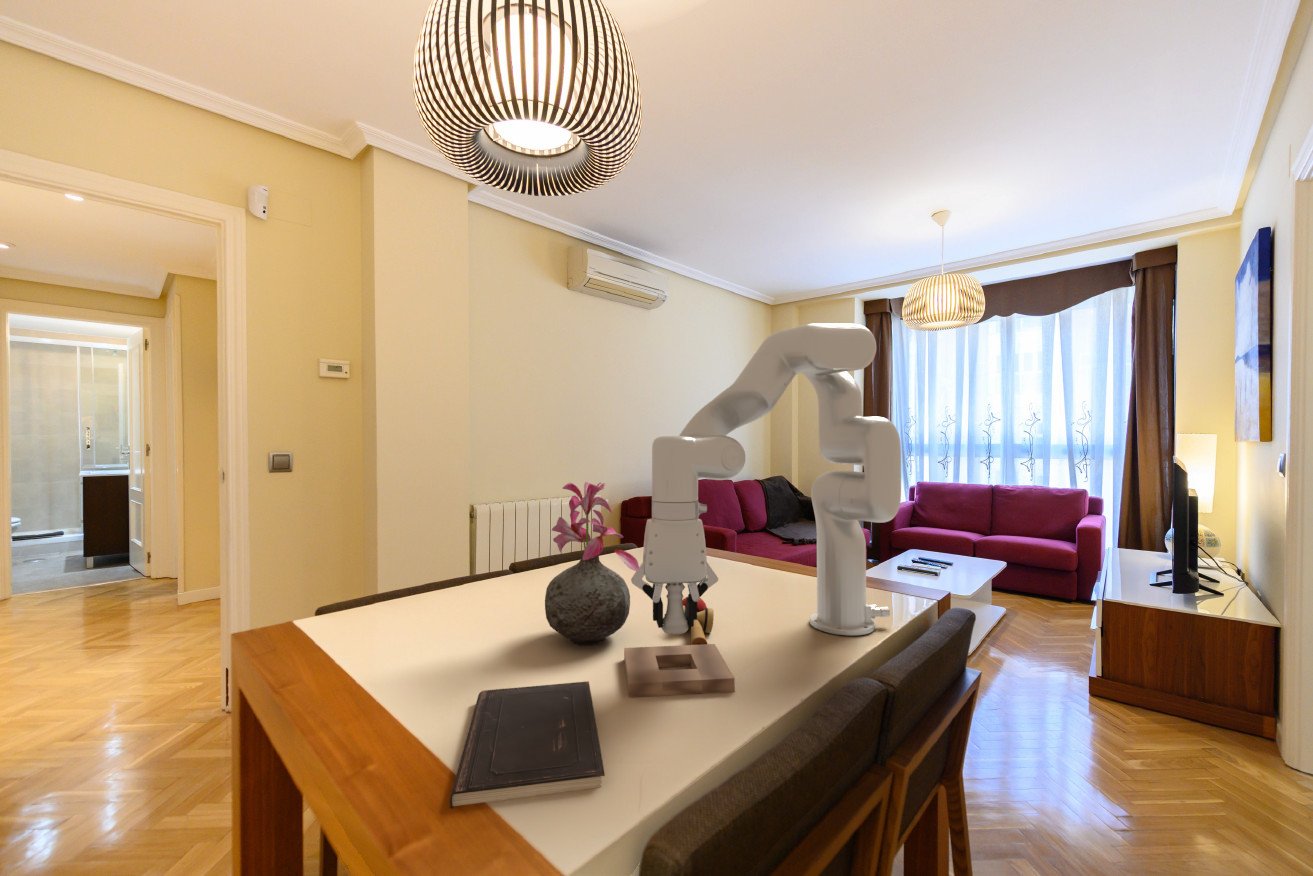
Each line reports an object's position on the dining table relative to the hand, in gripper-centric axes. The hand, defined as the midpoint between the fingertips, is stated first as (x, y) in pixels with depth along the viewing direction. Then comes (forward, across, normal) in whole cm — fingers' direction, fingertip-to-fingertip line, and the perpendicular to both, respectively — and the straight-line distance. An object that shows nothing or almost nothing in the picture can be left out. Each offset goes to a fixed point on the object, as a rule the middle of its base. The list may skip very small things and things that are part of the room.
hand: (674, 623), depth 88 cm
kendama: (+9, -7, -18) cm, 21 cm away
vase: (+9, +14, -18) cm, 24 cm away
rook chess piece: (+1, 0, 0) cm, 1 cm away
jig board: (+8, 0, 0) cm, 8 cm away
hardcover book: (+9, +21, +17) cm, 28 cm away
